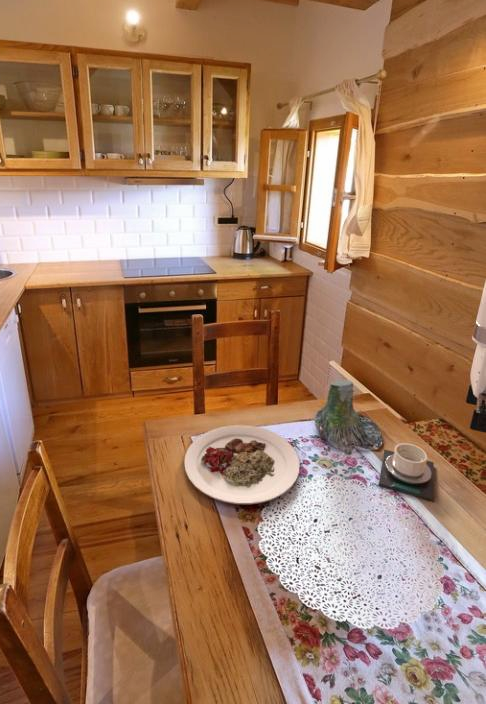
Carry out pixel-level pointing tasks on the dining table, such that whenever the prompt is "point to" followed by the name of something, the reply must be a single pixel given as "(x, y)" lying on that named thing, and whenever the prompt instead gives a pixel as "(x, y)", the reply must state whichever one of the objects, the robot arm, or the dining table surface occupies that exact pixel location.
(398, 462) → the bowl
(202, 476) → the plated food
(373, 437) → the tree stump
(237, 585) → the dining table surface
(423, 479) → the scale pan
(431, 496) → the scale
